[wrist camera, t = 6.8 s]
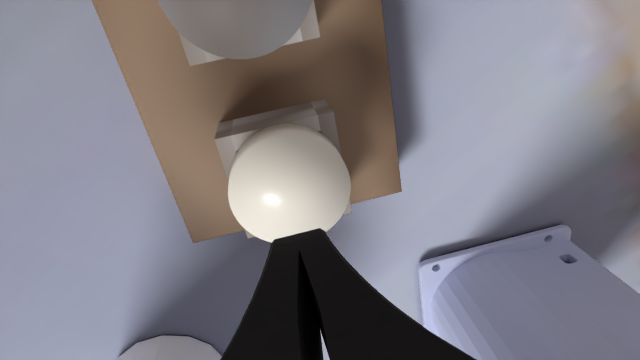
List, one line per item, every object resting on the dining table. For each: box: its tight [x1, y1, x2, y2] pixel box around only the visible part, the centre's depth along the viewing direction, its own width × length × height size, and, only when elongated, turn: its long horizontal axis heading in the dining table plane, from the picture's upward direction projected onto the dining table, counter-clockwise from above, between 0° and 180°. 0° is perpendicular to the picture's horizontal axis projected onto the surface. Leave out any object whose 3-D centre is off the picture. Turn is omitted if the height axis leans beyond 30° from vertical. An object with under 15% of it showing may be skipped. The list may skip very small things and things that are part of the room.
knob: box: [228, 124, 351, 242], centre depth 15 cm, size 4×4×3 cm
